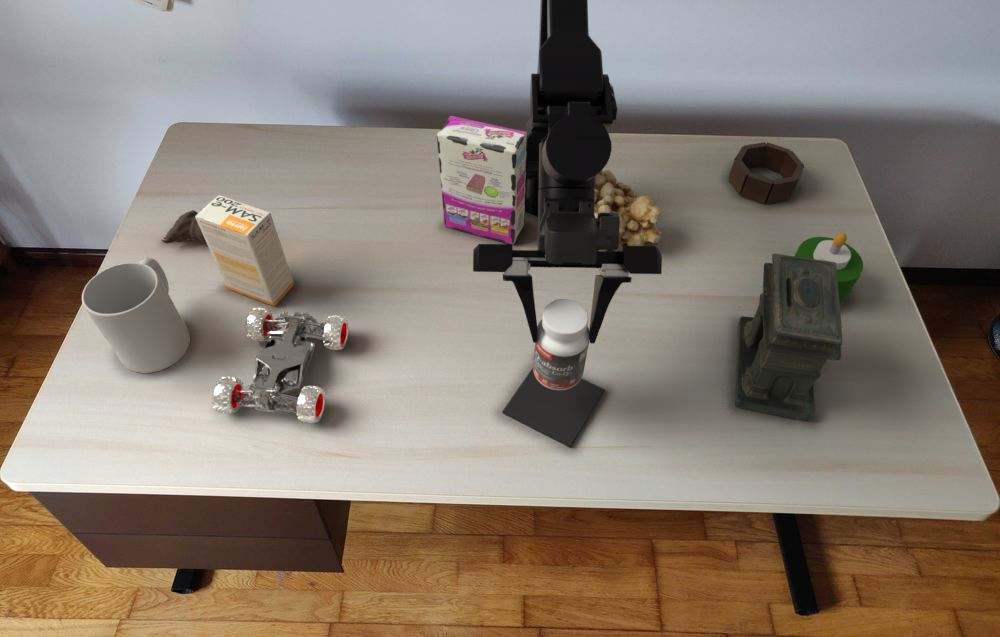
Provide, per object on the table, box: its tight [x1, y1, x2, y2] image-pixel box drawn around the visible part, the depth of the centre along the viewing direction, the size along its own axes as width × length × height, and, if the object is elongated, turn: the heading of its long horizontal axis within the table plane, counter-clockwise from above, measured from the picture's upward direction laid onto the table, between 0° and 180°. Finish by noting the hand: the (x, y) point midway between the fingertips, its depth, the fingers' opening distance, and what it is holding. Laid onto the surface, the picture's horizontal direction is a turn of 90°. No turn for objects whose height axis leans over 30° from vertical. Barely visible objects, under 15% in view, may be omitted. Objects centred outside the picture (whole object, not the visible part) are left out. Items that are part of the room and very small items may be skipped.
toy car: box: [211, 307, 350, 424], centre depth 84 cm, size 15×12×5 cm
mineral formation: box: [594, 169, 663, 251], centre depth 100 cm, size 8×13×15 cm
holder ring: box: [727, 141, 805, 206], centre depth 108 cm, size 10×10×4 cm
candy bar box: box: [436, 115, 527, 246], centre depth 96 cm, size 11×5×16 cm, turn 69°
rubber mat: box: [502, 367, 605, 449], centre depth 83 cm, size 9×9×1 cm
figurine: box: [161, 209, 207, 244], centre depth 99 cm, size 6×4×12 cm
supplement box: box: [195, 194, 295, 307], centre depth 90 cm, size 8×5×13 cm, turn 65°
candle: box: [794, 232, 864, 307], centre depth 92 cm, size 8×8×10 cm
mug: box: [81, 257, 191, 374], centre depth 85 cm, size 12×8×11 cm
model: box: [734, 253, 844, 422], centre depth 81 cm, size 14×9×15 cm, turn 168°
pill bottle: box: [532, 298, 590, 390], centre depth 75 cm, size 6×6×10 cm
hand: (563, 342), depth 72 cm, fingers closed on pill bottle, 5 cm apart
